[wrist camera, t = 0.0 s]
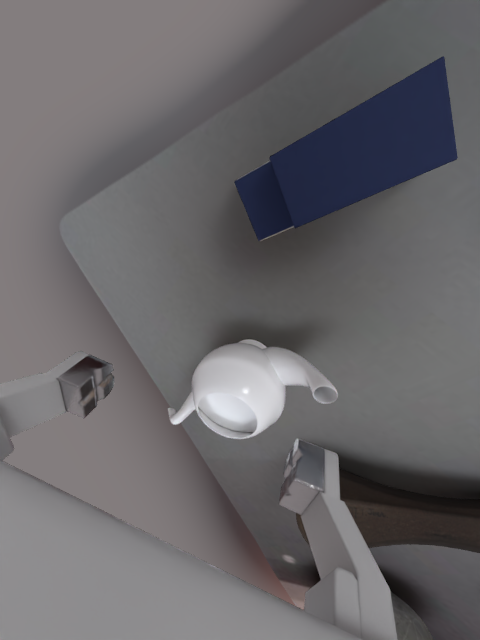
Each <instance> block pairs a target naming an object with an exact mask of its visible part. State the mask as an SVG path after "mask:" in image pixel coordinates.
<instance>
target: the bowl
mask: <svg viewBox="0 0 480 640" xmlns="http://www.w3.org/2000/svg"><path fill="white" fill-rule="evenodd" d="M391 599H392V606H393V613H394V620H395V626H396V633H397V640H433V638H432V636H431V634H430V633H429V630H428V629H427V627H426V625H425V624H424V622H423V621H422V620H421V618H420V617H419V616H418V615H417V614H416V612H415V611H414V610H413V609H412V608H411V607H410V606H409V605H408V604H406V603H405V602H404V601H403V600H401V599H400V598H399V597H398V596H396V595H395V594H394V593H392V592H391Z"/></svg>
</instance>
